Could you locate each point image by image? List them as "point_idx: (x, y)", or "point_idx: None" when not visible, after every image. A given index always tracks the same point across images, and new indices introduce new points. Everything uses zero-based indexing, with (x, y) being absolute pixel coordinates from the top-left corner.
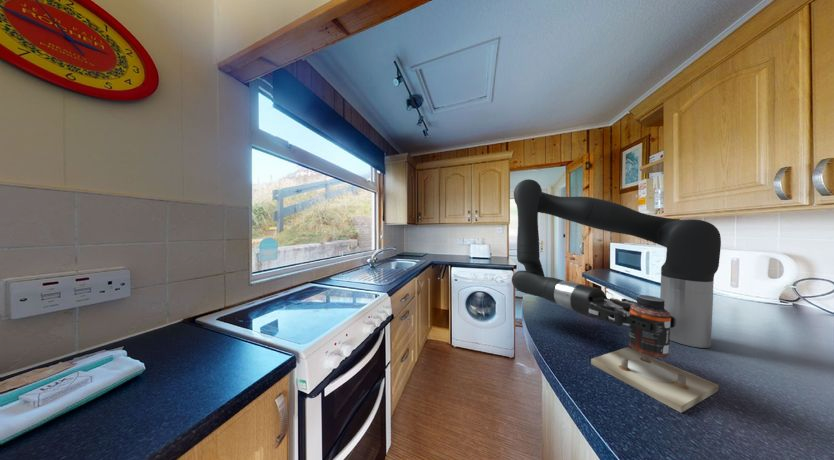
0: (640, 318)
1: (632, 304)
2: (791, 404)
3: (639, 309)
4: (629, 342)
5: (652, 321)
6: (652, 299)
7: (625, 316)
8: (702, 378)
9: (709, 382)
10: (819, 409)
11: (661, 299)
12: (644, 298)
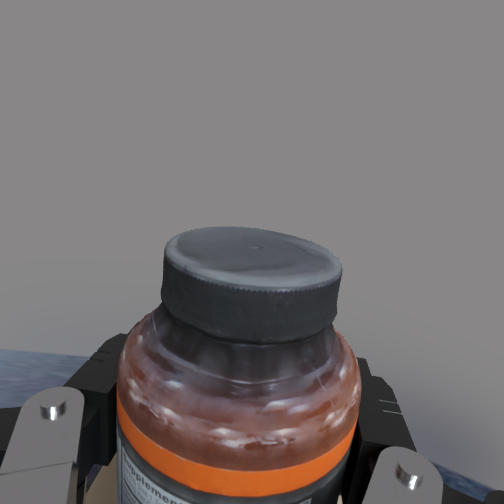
0: (379, 407)
1: (66, 486)
2: (58, 379)
3: (356, 367)
4: None
5: (363, 362)
6: (308, 243)
7: (447, 494)
8: (97, 482)
9: (114, 466)
10: (45, 357)
11: (237, 228)
12: (336, 262)
